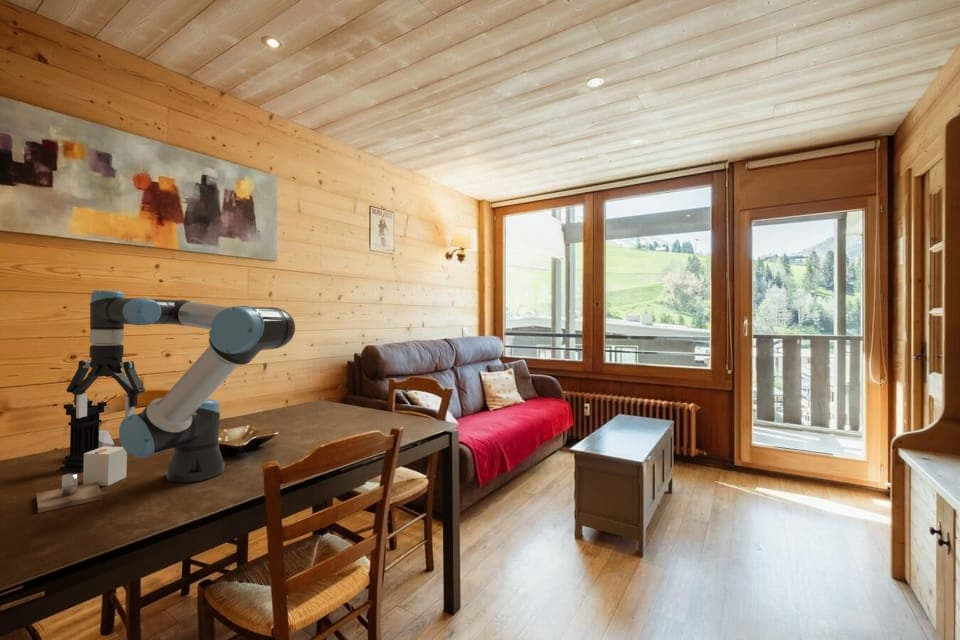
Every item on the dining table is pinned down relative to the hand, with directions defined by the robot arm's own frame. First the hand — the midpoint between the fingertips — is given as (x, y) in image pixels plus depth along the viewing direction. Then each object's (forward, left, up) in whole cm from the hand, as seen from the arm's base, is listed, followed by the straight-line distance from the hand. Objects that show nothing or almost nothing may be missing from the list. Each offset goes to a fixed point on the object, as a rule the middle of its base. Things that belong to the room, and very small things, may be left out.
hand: (105, 417), depth 128 cm
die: (+27, -15, -19) cm, 36 cm away
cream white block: (0, 0, -19) cm, 19 cm away
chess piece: (+18, -6, -19) cm, 27 cm away
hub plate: (-4, +11, -19) cm, 22 cm away
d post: (-4, +11, -17) cm, 21 cm away
